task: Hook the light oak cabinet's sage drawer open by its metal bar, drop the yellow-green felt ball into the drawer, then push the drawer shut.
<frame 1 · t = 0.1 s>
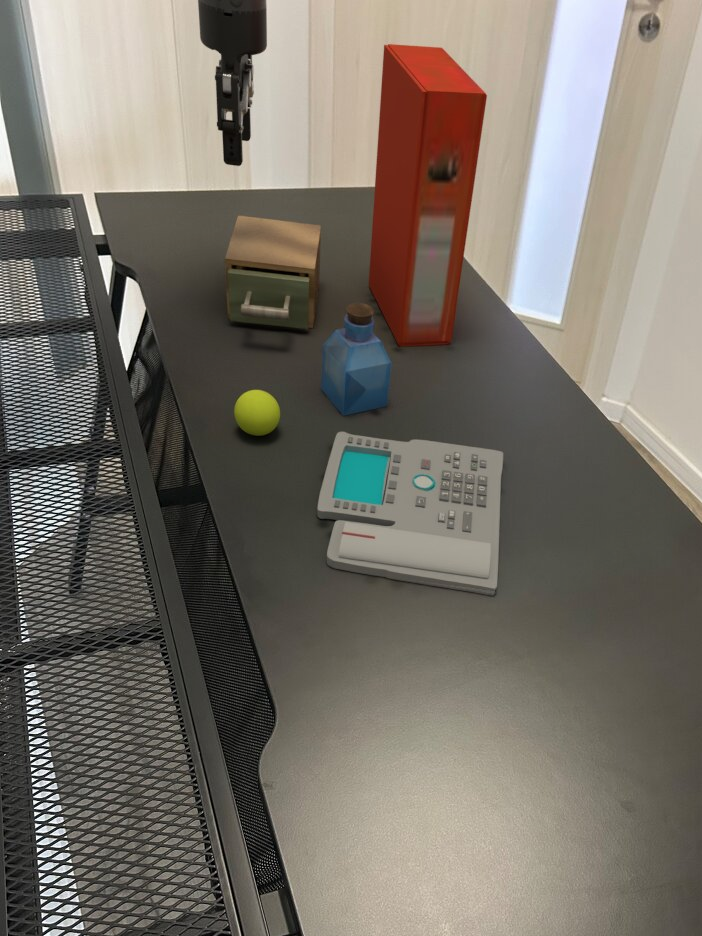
hand: (237, 151, 107), 20 cm above the table, tool pointing down, fingers open, 8 cm apart
cabinet: (275, 300, 122), on the table
perfume bottle: (353, 399, 108), on the table
drawer: (271, 288, 116), point 4 cm above the table, slide at 0.8 cm
ball: (257, 431, 100), on the table
file binder: (407, 315, 125), on the table
office telephone: (410, 510, 95), on the table
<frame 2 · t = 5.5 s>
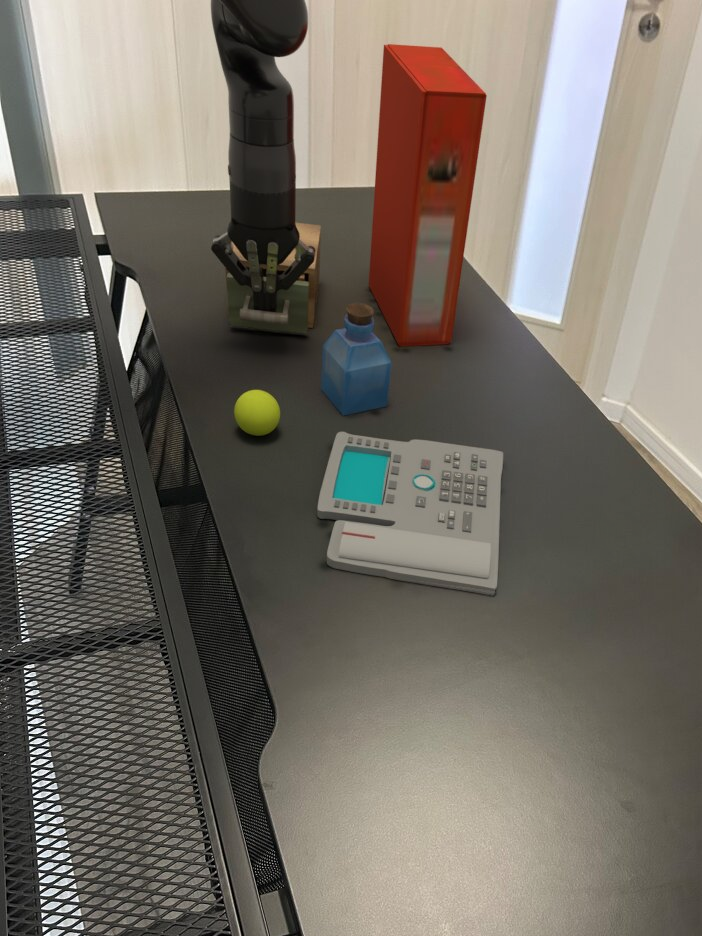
hand: (265, 315, 111), 4 cm above the table, tool pointing down, fingers closed
drawer: (270, 292, 115), point 4 cm above the table, slide at 2.0 cm
everything else where it was.
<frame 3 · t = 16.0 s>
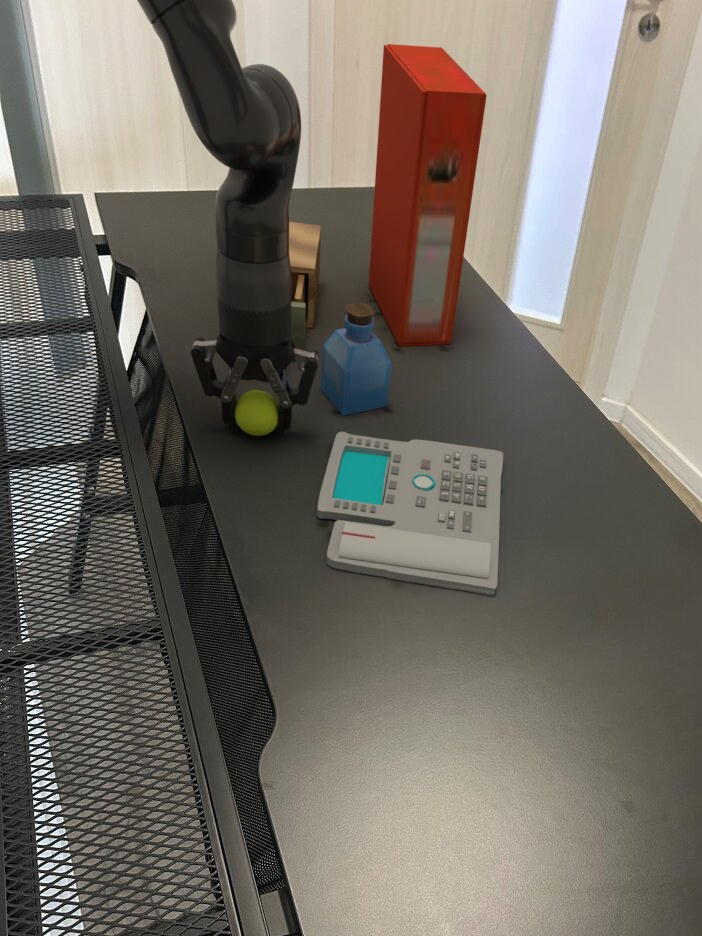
hand: (257, 426, 100), 1 cm above the table, tool pointing down, fingers closed on ball, 5 cm apart
drawer: (266, 313, 111), point 4 cm above the table, slide at 7.7 cm
ball: (257, 431, 100), on the table, touching gripper
everything else where it was.
when the fingers open (7 cm above the table, at t = 22.2 s): ball drops 5 cm, resting on drawer.
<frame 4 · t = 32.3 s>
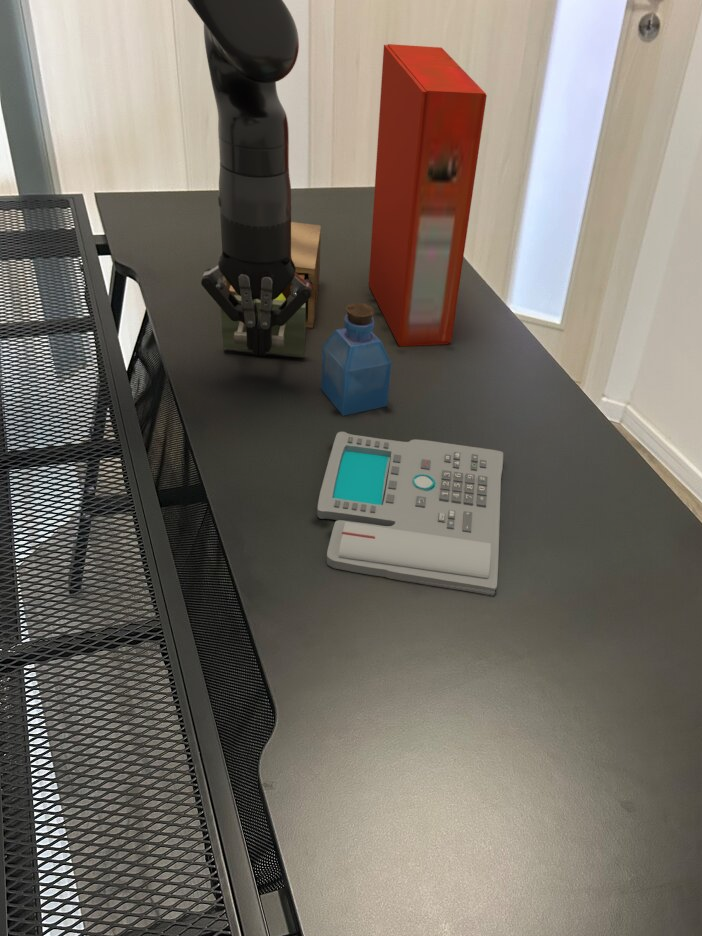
hand: (259, 351, 104), 5 cm above the table, tool pointing down, fingers closed
drawer: (266, 313, 111), point 4 cm above the table, slide at 7.7 cm, touching ball, gripper
ball: (267, 325, 113), point 2 cm above the table, touching drawer
everything else where it was.
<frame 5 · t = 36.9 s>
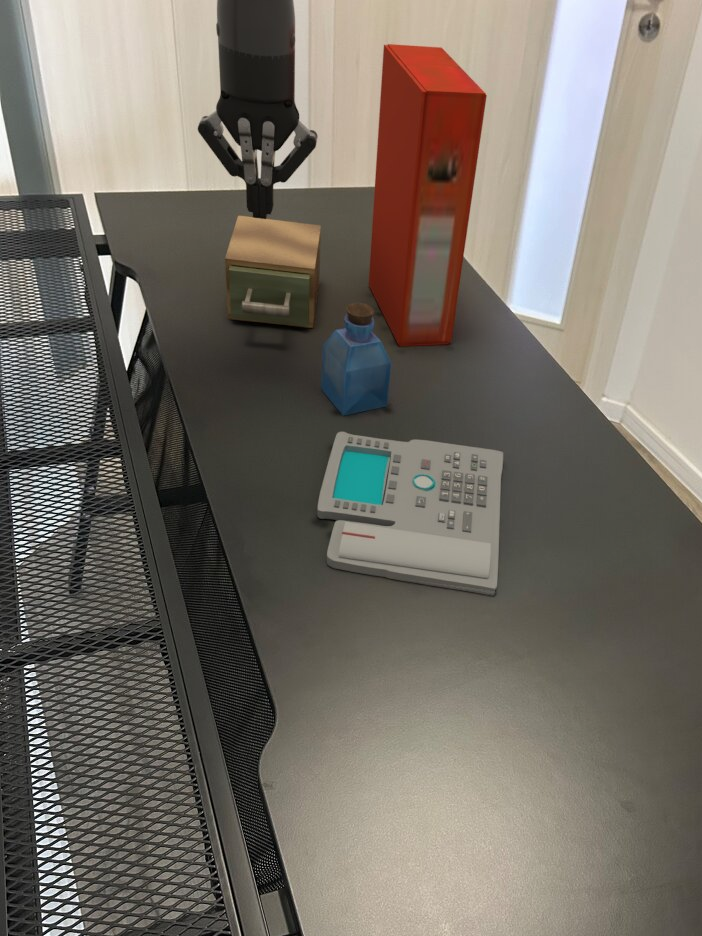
hand: (260, 215, 97), 19 cm above the table, tool pointing down, fingers closed
drawer: (272, 285, 116), point 4 cm above the table, slide at 0.0 cm, touching ball
ball: (273, 290, 118), point 3 cm above the table, tilted 49°, touching drawer
everything else where it was.
at the end: drawer pulled out 7.7 cm at the most during the clip, back to where it started at the end; ball inside the target area in the cabinet (3.0 cm from its centre), point 2.9 cm above the cabinet's base; drawer slide at 0.0 cm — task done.
